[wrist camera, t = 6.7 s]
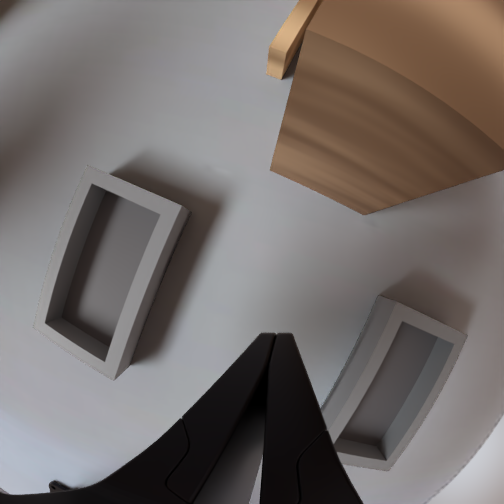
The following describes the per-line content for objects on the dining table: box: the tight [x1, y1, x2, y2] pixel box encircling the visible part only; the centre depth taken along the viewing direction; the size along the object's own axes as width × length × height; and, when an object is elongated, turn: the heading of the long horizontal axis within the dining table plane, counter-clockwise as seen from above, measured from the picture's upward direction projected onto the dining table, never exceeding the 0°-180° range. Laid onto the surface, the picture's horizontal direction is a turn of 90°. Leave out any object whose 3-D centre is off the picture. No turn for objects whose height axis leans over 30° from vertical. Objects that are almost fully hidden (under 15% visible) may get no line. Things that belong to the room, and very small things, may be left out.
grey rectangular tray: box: [33, 165, 191, 381], centre depth 16 cm, size 10×6×2 cm, turn 156°
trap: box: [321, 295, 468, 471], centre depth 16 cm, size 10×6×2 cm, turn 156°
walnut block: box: [270, 0, 504, 215], centre depth 11 cm, size 14×6×12 cm, turn 156°
